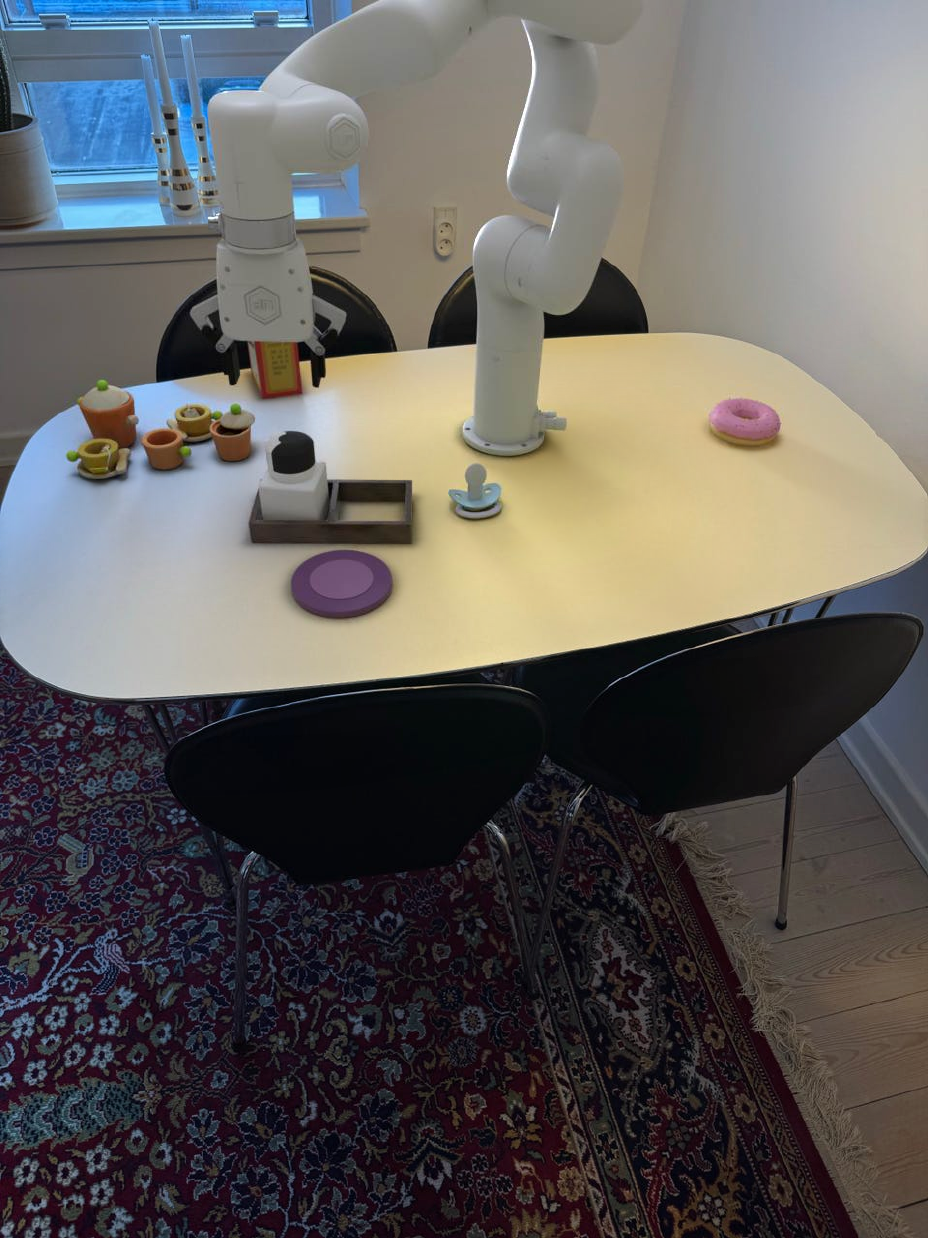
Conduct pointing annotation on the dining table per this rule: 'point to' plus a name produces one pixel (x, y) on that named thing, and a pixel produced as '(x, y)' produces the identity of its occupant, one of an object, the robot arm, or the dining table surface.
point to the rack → (332, 527)
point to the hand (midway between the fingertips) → (276, 381)
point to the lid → (341, 583)
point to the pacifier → (477, 494)
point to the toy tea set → (153, 433)
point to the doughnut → (744, 421)
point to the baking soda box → (275, 368)
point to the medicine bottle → (293, 479)
